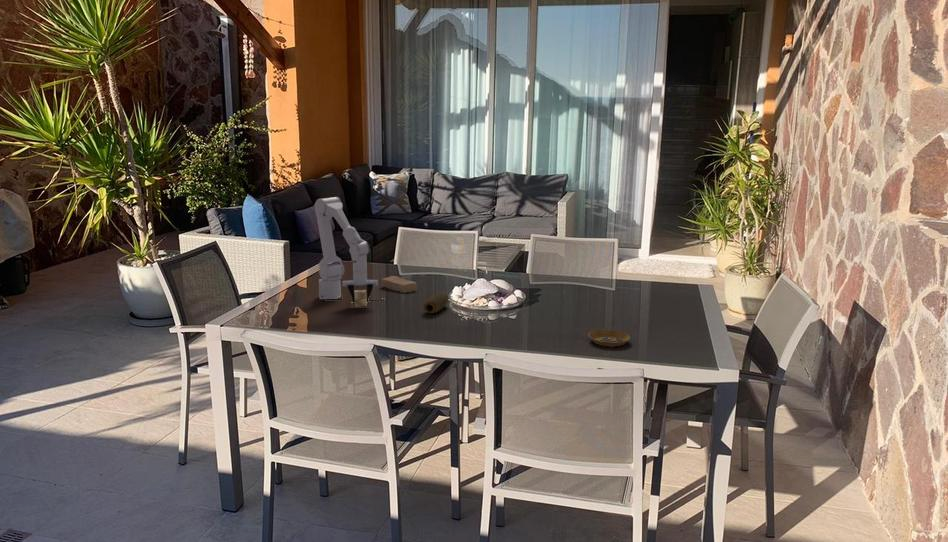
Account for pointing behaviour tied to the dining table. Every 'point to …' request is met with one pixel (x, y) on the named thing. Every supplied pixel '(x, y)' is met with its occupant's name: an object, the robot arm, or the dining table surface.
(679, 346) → the dining table surface
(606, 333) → the plant saucer
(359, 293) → the birch block
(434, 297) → the brown hollow tube
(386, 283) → the brick
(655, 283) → the dining table surface
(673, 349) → the dining table surface
